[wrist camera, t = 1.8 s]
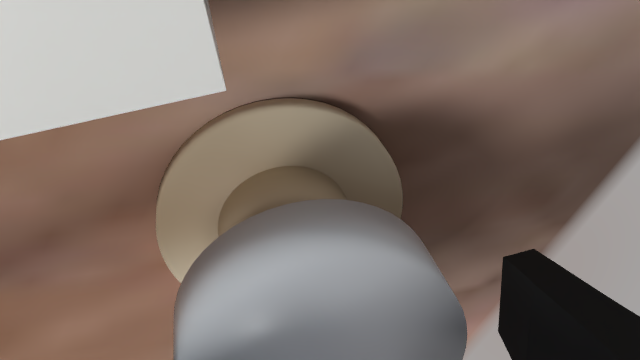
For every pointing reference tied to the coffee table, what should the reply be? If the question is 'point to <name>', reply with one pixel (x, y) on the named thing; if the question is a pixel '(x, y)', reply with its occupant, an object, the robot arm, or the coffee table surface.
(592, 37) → the coffee table surface
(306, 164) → the disc pedestal
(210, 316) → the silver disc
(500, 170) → the coffee table surface
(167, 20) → the box
